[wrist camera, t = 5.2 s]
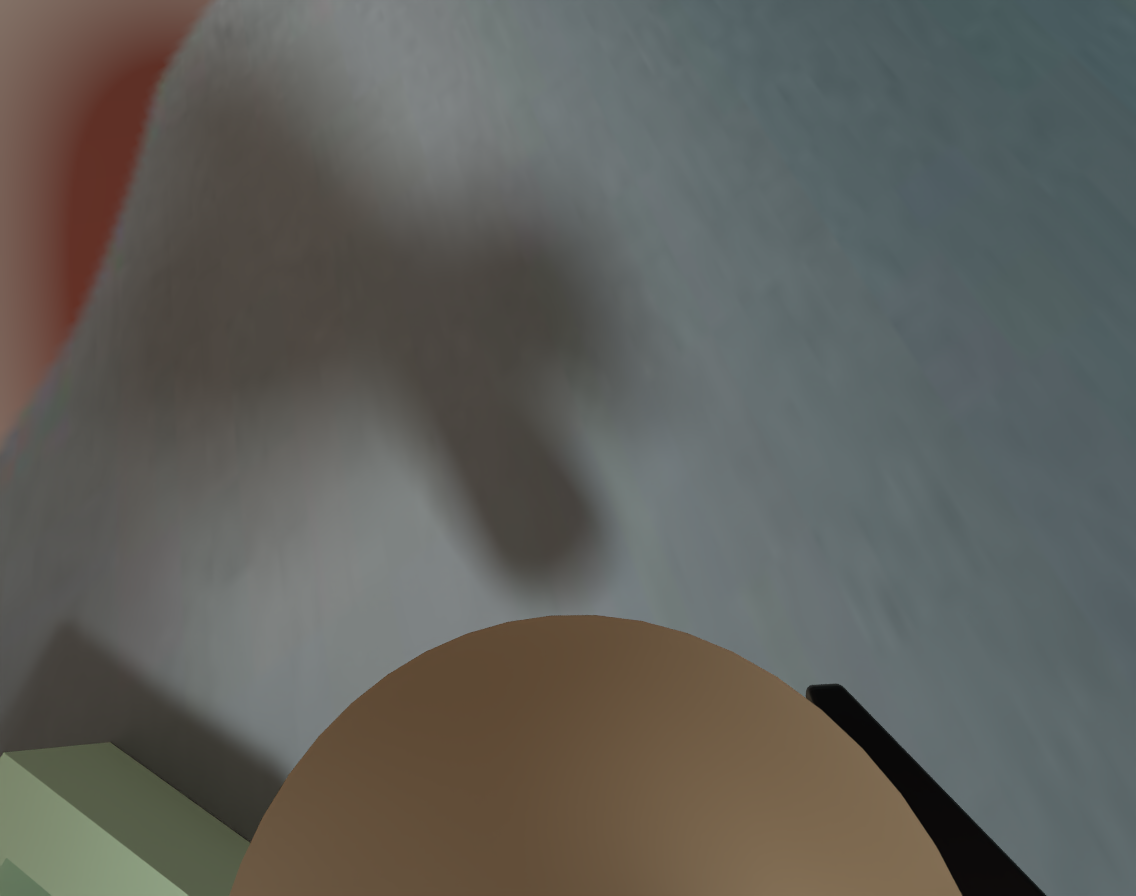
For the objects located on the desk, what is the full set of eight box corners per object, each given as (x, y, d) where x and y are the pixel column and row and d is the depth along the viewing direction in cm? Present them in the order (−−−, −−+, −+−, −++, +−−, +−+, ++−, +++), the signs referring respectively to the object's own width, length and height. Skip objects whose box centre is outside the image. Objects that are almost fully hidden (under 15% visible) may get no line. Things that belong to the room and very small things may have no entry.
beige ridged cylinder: (723, 940, 14) (824, 1991, 3) (530, 821, 15) (54, 1199, 4) (807, 726, 15) (1139, 849, 4) (618, 631, 16) (432, 505, 5)
